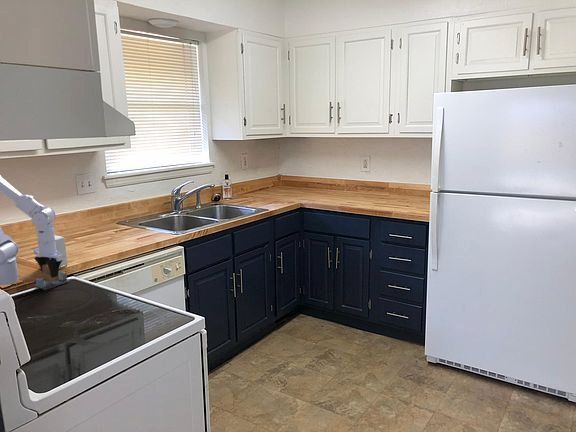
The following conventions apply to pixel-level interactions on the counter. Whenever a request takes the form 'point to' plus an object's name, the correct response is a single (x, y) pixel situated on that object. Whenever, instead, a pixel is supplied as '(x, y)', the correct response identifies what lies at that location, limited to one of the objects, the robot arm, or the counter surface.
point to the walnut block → (48, 274)
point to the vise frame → (61, 280)
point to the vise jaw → (40, 283)
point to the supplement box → (61, 248)
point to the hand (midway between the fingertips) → (50, 275)
